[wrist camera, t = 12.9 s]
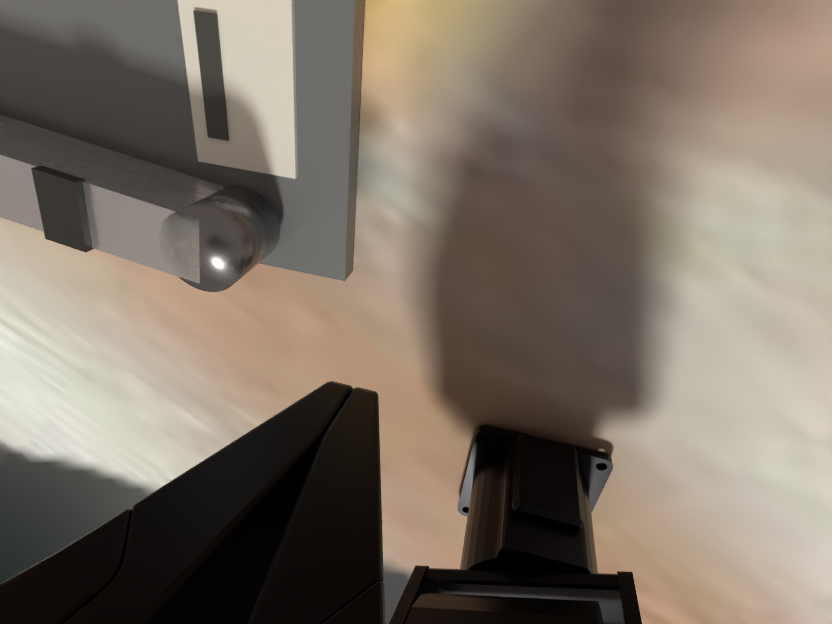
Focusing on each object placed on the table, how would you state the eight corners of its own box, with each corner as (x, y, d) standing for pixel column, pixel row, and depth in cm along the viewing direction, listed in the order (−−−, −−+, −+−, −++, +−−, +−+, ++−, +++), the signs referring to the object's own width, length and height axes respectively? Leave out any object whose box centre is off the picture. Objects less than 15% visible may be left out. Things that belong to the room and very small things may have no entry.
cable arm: (283, 198, 18) (236, 229, 15) (277, 267, 20) (234, 306, 17) (-149, 60, 19) (-267, 65, 16) (-121, 136, 21) (-224, 152, 18)
